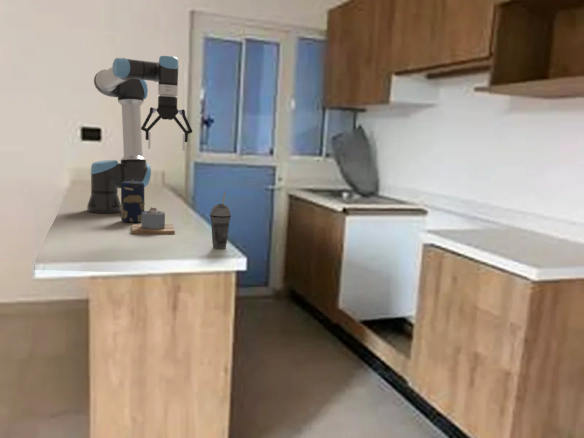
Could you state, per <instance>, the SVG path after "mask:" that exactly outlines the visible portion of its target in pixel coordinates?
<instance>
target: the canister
mask: <svg viewBox="0 0 584 438" xmlns="http://www.w3.org/2000/svg"><path fill="white" fill-rule="evenodd" d="M120 190H121V191H120V194H121V195H120V196H121V197H120V203H121V212H120V219H121V221H122V222H127V223H139V222H140V223H142V212H143V211H145V206H146V205H145V204H146V203H145V187H144V183H143V182H140V181H134V180H133V179H132V181H124V182H122V183H121V188H120Z"/></svg>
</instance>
